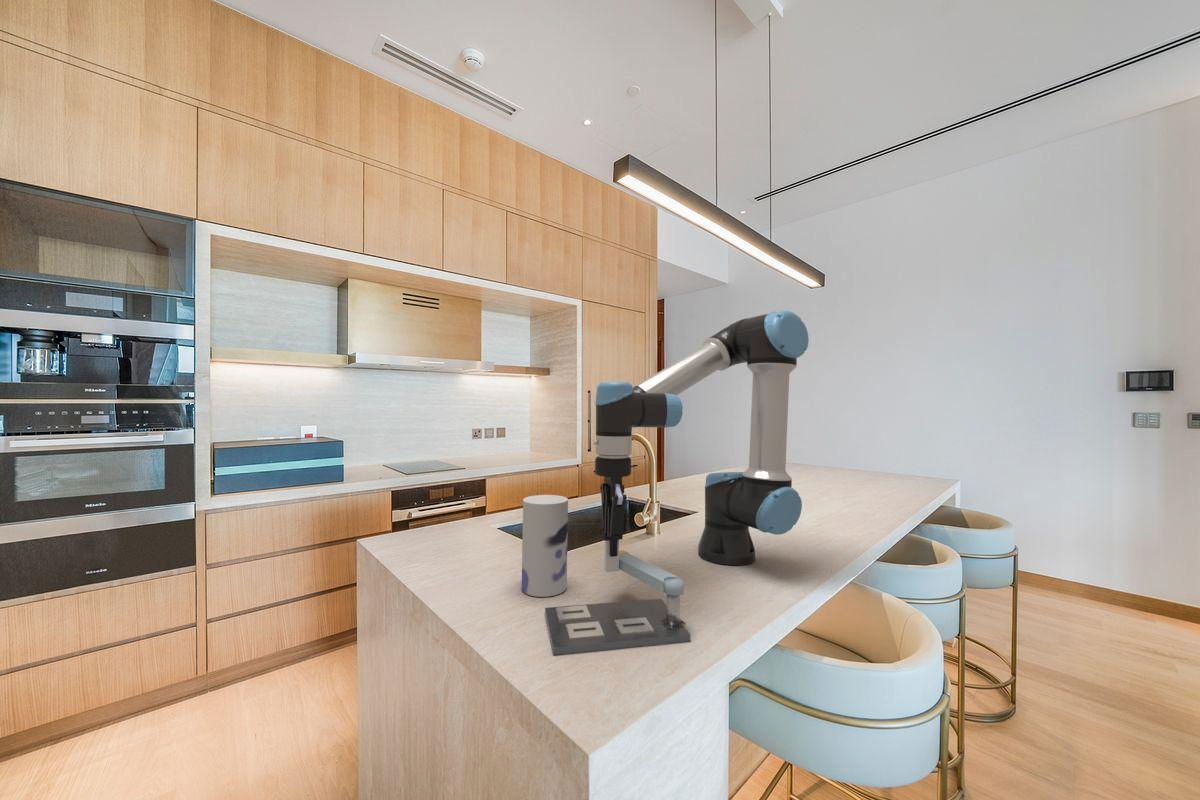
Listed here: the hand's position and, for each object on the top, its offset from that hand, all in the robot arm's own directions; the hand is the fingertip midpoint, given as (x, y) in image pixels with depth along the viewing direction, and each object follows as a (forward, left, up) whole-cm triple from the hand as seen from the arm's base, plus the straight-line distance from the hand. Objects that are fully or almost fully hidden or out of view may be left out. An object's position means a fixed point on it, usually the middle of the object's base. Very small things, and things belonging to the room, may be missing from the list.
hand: (611, 570), depth 94 cm
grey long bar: (-6, +5, 0) cm, 7 cm away
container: (+13, -10, -7) cm, 18 cm away
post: (-9, +13, -7) cm, 17 cm away
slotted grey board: (+2, +10, -7) cm, 12 cm away
